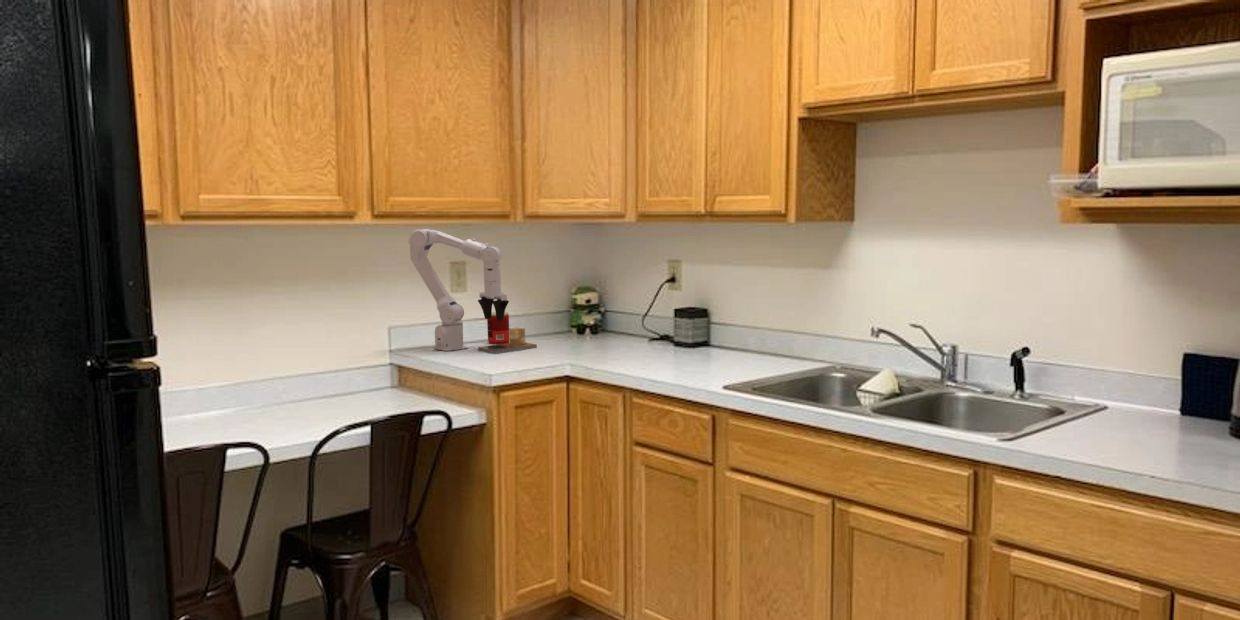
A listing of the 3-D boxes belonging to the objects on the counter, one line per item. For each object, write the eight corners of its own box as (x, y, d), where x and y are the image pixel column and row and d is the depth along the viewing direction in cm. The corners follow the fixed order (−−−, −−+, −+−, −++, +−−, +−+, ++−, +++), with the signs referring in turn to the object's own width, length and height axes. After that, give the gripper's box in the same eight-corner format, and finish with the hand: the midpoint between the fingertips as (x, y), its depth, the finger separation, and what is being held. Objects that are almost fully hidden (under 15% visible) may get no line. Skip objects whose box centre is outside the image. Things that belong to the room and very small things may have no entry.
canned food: (513, 341, 336) (512, 312, 334) (499, 344, 329) (499, 314, 328) (497, 340, 340) (496, 311, 338) (483, 343, 333) (482, 313, 332)
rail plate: (493, 353, 309) (493, 350, 309) (478, 350, 317) (477, 346, 317) (536, 347, 321) (536, 344, 321) (520, 344, 329) (520, 341, 329)
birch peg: (516, 349, 319) (515, 329, 318) (509, 347, 322) (509, 328, 321) (525, 347, 322) (525, 328, 321) (519, 346, 325) (518, 327, 324)
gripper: (513, 281, 314) (515, 320, 316) (490, 279, 325) (492, 316, 327) (496, 282, 310) (498, 322, 311) (473, 280, 321) (475, 318, 322)
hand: (493, 319), depth 319 cm, fingers open, 7 cm apart
